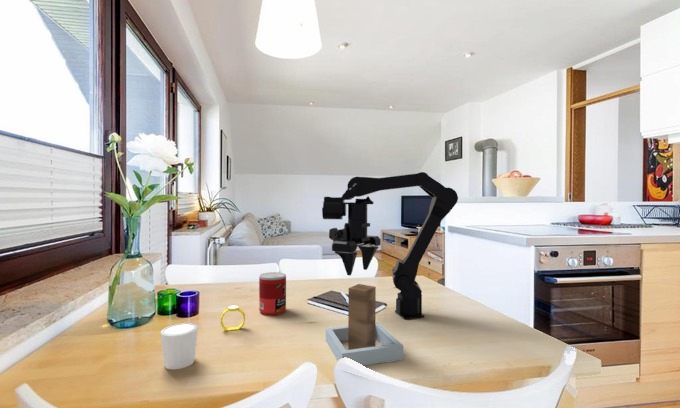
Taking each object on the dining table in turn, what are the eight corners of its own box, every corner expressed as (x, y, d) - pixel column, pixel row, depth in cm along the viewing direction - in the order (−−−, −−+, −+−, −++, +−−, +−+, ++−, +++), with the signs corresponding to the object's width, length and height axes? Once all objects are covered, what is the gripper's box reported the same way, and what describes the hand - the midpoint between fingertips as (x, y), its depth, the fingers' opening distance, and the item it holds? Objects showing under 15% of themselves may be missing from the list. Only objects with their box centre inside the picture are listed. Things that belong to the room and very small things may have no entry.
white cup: (169, 355, 71) (169, 322, 70) (202, 354, 71) (202, 321, 71) (154, 371, 64) (154, 336, 64) (190, 370, 64) (190, 335, 64)
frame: (378, 334, 82) (378, 322, 82) (403, 359, 69) (403, 345, 69) (325, 340, 78) (325, 328, 78) (342, 368, 65) (342, 353, 65)
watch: (244, 327, 87) (246, 304, 87) (244, 331, 84) (246, 308, 84) (220, 328, 85) (222, 305, 85) (219, 332, 82) (221, 308, 82)
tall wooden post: (358, 343, 76) (358, 283, 76) (375, 348, 74) (375, 286, 74) (348, 351, 73) (348, 288, 72) (365, 356, 70) (365, 291, 70)
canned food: (280, 316, 94) (280, 278, 94) (254, 314, 95) (254, 277, 95) (289, 308, 101) (289, 272, 101) (265, 306, 103) (265, 271, 103)
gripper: (351, 217, 109) (351, 264, 109) (316, 220, 94) (316, 274, 94) (381, 218, 103) (381, 268, 103) (349, 221, 88) (349, 280, 88)
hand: (357, 272), depth 97 cm, fingers open, 9 cm apart
